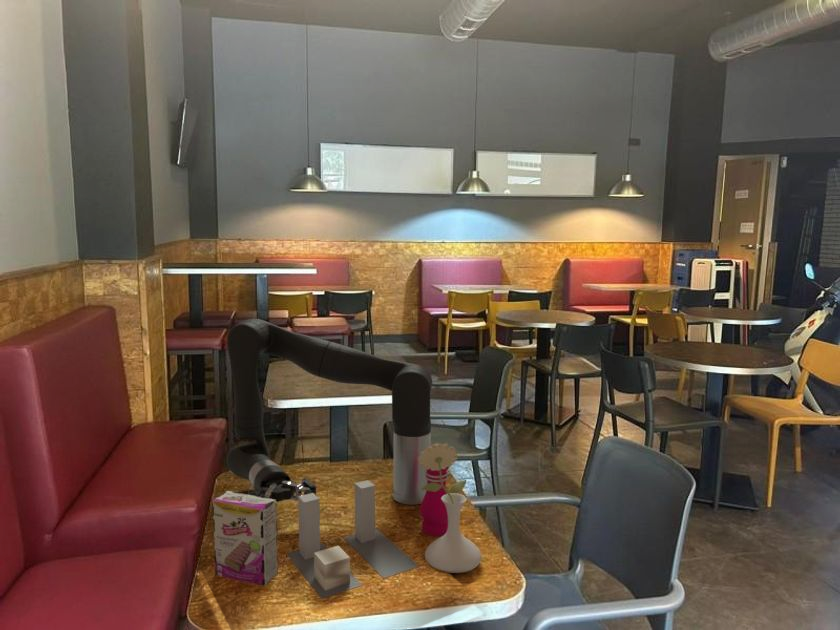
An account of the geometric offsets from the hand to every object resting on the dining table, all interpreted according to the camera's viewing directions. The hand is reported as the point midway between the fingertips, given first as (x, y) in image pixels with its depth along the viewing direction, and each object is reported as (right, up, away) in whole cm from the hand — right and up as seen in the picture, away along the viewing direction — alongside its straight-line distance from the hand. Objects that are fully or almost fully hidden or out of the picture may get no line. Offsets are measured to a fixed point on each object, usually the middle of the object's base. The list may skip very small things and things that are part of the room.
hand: (293, 506), depth 131 cm
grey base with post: (+19, -9, -5) cm, 21 cm away
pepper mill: (+30, -8, +7) cm, 32 cm away
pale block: (+10, -9, -16) cm, 21 cm away
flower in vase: (+33, -9, -7) cm, 35 cm away
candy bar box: (-6, -10, -13) cm, 18 cm away
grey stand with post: (+8, -10, -12) cm, 17 cm away
